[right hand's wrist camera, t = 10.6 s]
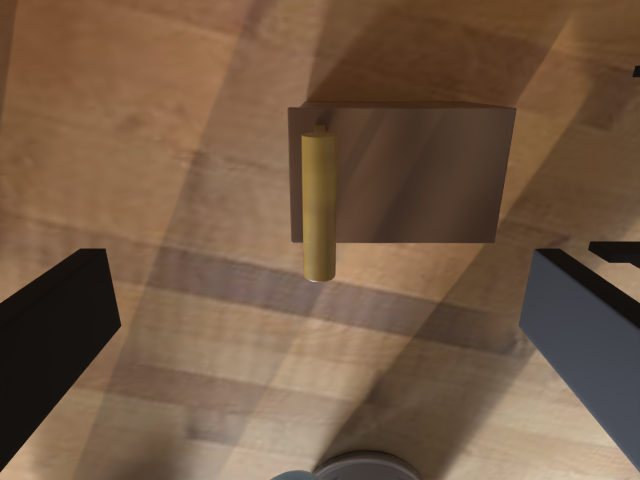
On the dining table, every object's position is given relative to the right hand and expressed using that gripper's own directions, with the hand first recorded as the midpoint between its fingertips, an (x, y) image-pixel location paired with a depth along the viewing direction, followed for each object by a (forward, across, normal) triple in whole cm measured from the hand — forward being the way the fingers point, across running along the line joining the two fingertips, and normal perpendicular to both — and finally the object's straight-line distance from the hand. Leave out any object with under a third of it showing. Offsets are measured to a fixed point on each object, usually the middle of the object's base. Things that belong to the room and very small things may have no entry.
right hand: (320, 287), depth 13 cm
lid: (+17, -5, 0) cm, 17 cm away
